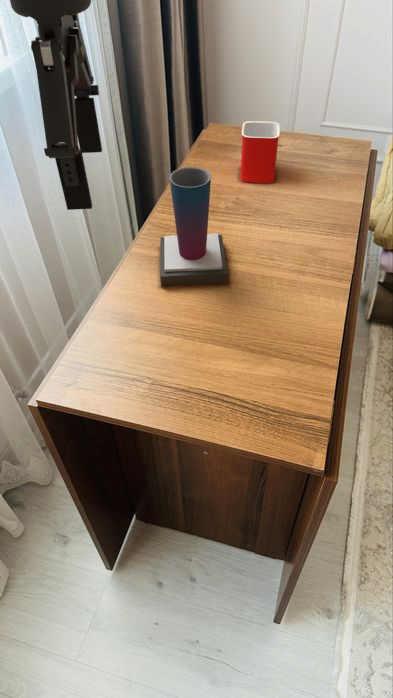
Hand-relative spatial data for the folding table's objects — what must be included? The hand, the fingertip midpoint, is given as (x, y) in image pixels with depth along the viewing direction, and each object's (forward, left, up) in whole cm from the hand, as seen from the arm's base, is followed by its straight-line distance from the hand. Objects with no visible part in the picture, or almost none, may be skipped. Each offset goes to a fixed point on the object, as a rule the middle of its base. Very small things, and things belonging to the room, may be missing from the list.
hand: (86, 177), depth 60 cm
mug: (+30, +54, -29) cm, 68 cm away
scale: (+13, +19, -29) cm, 37 cm away
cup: (+13, +19, -26) cm, 35 cm away
